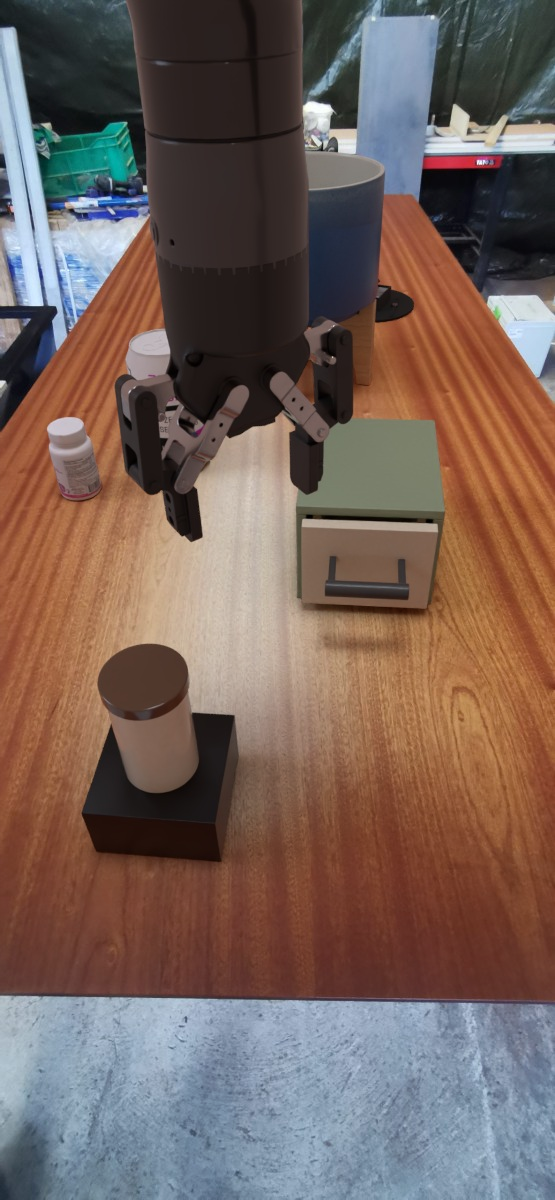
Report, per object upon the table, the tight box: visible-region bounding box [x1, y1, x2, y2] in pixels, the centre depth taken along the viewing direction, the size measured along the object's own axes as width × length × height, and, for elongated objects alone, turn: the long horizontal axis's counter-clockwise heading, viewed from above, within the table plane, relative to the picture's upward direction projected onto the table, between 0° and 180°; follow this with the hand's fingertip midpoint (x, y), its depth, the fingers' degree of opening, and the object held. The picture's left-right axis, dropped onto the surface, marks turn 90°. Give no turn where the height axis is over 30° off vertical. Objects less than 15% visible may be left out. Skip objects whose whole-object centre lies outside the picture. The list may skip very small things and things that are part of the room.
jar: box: [96, 643, 199, 793], centre depth 49 cm, size 6×6×9 cm
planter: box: [305, 150, 386, 386], centre depth 98 cm, size 19×19×26 cm
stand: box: [80, 711, 240, 862], centre depth 53 cm, size 9×9×5 cm
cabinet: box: [295, 417, 446, 605], centre depth 73 cm, size 16×13×11 cm
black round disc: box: [359, 278, 415, 323], centre depth 124 cm, size 15×15×6 cm
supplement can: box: [125, 328, 205, 452], centre depth 85 cm, size 8×8×15 cm
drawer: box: [301, 515, 438, 610], centre depth 69 cm, size 19×12×9 cm, turn 174°
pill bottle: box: [46, 416, 102, 501], centre depth 83 cm, size 5×5×8 cm
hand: (249, 510), depth 47 cm, fingers open, 8 cm apart
